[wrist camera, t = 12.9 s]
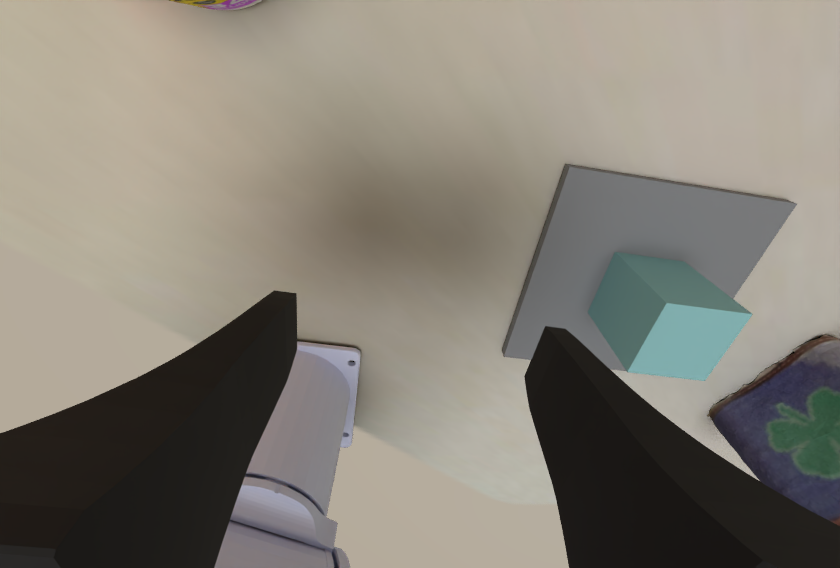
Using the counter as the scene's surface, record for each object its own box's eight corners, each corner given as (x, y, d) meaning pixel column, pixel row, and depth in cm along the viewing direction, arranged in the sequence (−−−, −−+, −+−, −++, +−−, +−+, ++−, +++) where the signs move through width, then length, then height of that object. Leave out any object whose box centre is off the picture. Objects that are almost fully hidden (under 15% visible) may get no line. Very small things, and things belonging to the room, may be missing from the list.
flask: (824, 327, 24) (1072, 494, 15) (848, 346, 25) (1098, 516, 16) (698, 412, 28) (835, 586, 19) (723, 427, 29) (865, 600, 20)
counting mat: (674, 370, 26) (679, 377, 26) (502, 350, 25) (503, 356, 25) (787, 199, 20) (797, 203, 19) (565, 164, 19) (569, 166, 18)
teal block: (651, 320, 23) (704, 380, 19) (587, 312, 23) (627, 372, 18) (684, 261, 21) (752, 314, 17) (615, 251, 21) (666, 302, 16)
